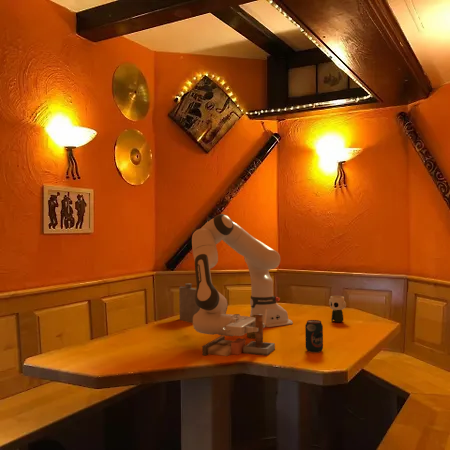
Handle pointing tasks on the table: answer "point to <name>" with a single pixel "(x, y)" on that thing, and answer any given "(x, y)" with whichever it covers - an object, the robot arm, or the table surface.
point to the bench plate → (221, 348)
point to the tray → (265, 350)
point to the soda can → (314, 336)
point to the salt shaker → (251, 334)
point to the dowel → (259, 330)
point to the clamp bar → (205, 347)
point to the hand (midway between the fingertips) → (261, 327)
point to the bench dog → (237, 346)
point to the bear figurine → (337, 307)
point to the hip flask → (187, 303)
